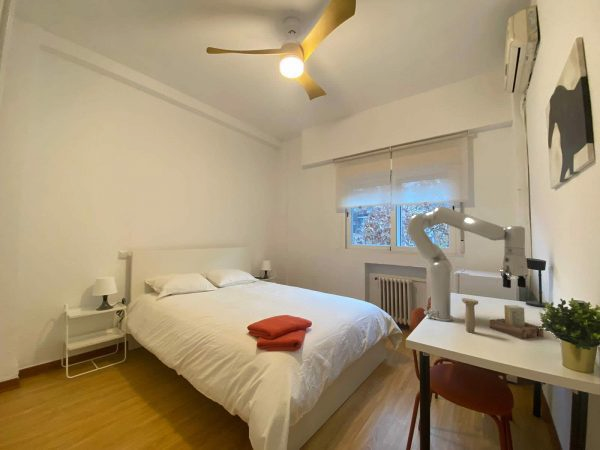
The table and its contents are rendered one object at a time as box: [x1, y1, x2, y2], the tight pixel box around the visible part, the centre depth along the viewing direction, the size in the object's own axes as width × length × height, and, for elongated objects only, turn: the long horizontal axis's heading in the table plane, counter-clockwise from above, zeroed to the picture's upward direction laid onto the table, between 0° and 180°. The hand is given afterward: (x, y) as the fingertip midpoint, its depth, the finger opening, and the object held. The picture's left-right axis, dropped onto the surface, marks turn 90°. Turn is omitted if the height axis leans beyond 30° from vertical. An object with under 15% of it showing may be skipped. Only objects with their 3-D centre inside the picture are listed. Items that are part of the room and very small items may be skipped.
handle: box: [461, 297, 479, 334], centre depth 117 cm, size 5×6×15 cm
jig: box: [489, 317, 544, 340], centre depth 118 cm, size 14×14×4 cm
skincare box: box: [504, 304, 526, 328], centre depth 118 cm, size 6×4×12 cm
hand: (514, 287), depth 119 cm, fingers open, 9 cm apart
